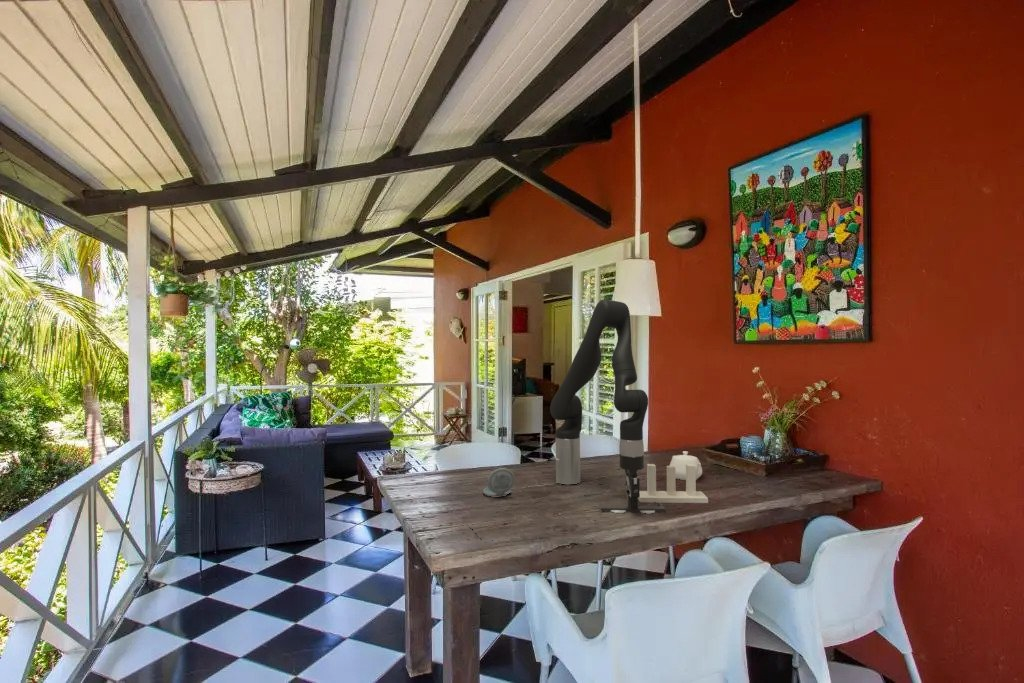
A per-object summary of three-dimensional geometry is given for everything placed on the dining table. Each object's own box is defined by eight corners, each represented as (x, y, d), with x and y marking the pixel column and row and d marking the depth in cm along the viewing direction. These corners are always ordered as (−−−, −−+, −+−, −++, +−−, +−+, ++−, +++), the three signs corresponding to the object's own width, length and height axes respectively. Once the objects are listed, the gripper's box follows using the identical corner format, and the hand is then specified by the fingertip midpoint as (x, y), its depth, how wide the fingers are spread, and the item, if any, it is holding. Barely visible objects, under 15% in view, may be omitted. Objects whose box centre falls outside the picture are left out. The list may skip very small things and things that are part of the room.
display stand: (640, 502, 175) (639, 467, 175) (636, 495, 183) (635, 462, 183) (708, 502, 174) (707, 468, 174) (701, 495, 182) (700, 462, 182)
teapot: (715, 483, 197) (715, 456, 197) (685, 485, 194) (685, 458, 194) (687, 470, 217) (686, 445, 217) (659, 472, 214) (658, 447, 214)
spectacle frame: (601, 513, 165) (600, 496, 165) (598, 504, 173) (598, 489, 173) (666, 514, 163) (666, 497, 163) (660, 505, 172) (660, 489, 172)
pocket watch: (487, 469, 179) (479, 459, 193) (487, 501, 179) (479, 489, 193) (515, 467, 181) (505, 457, 196) (516, 499, 181) (506, 487, 196)
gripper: (616, 448, 174) (617, 498, 174) (622, 458, 160) (623, 512, 160) (639, 448, 173) (640, 498, 173) (647, 458, 159) (648, 512, 159)
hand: (632, 505), depth 167 cm, fingers open, 7 cm apart
